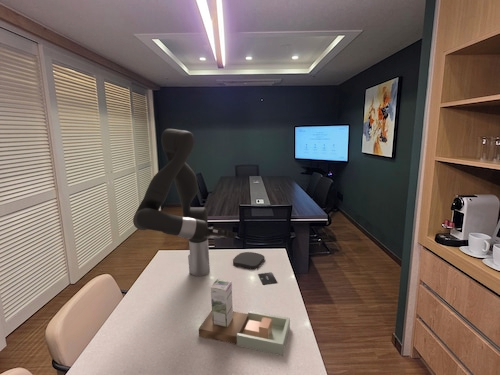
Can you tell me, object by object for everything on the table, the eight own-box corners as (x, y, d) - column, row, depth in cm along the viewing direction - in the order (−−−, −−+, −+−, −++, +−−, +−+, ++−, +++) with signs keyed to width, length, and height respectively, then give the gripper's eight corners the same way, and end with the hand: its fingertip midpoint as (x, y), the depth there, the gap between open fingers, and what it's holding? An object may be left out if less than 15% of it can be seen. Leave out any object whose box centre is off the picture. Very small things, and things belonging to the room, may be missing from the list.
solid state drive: (262, 285, 128) (262, 284, 128) (257, 275, 137) (257, 273, 137) (277, 283, 129) (277, 282, 129) (271, 273, 139) (271, 272, 139)
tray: (237, 345, 92) (236, 335, 91) (249, 320, 104) (248, 310, 103) (282, 355, 87) (282, 344, 86) (289, 328, 99) (289, 318, 99)
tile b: (258, 326, 92) (267, 328, 91) (263, 317, 97) (271, 318, 96) (259, 340, 93) (268, 342, 92) (263, 330, 98) (271, 331, 97)
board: (199, 336, 96) (198, 328, 96) (213, 314, 107) (213, 307, 107) (237, 344, 92) (237, 336, 91) (248, 321, 103) (248, 314, 103)
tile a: (244, 337, 95) (244, 329, 94) (249, 327, 99) (249, 319, 99) (259, 340, 93) (259, 332, 92) (263, 330, 98) (263, 322, 97)
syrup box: (233, 317, 101) (232, 280, 98) (227, 328, 95) (225, 289, 93) (218, 314, 103) (217, 278, 100) (211, 325, 97) (209, 286, 94)
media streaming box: (255, 271, 141) (255, 265, 140) (230, 266, 147) (230, 260, 147) (266, 259, 154) (266, 254, 153) (243, 254, 160) (242, 250, 160)
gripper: (200, 216, 98) (240, 225, 106) (186, 220, 110) (223, 228, 118) (196, 238, 96) (237, 245, 104) (183, 239, 108) (220, 246, 116)
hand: (230, 236), depth 111 cm, fingers open, 8 cm apart
